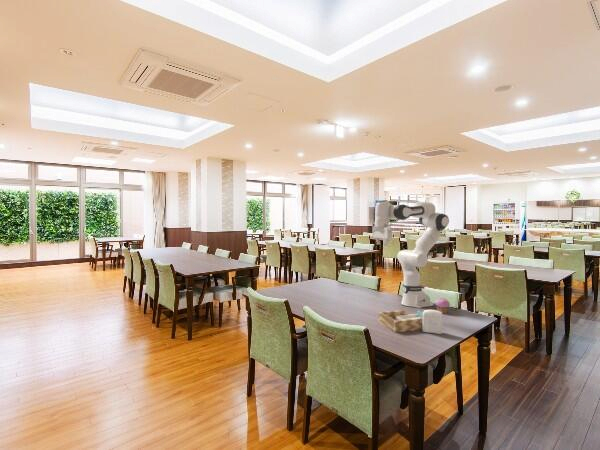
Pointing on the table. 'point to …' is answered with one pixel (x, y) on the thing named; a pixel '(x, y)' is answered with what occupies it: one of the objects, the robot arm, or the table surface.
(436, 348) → the table surface
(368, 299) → the table surface
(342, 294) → the table surface
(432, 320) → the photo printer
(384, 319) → the woven basket
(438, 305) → the cupcake
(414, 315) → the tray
